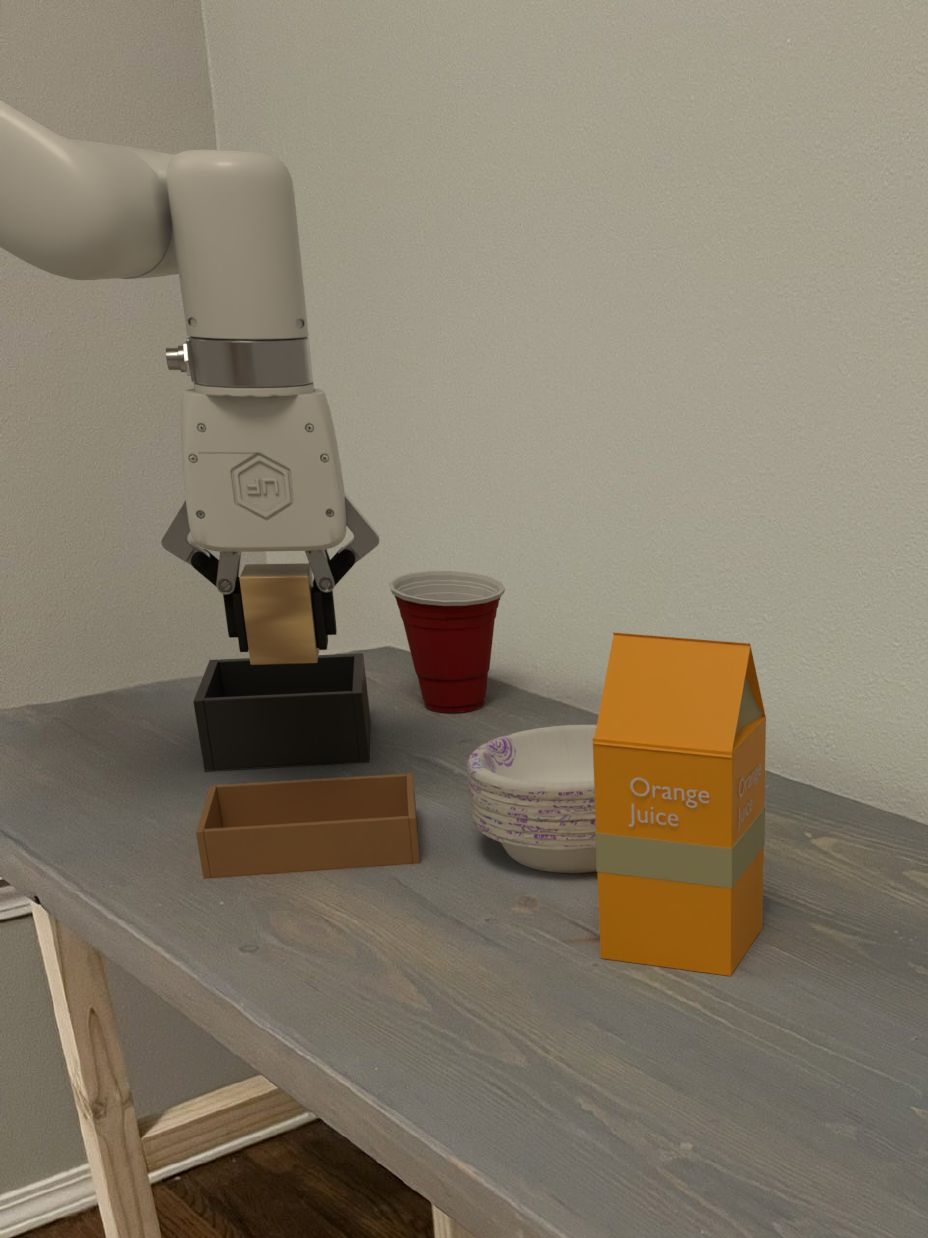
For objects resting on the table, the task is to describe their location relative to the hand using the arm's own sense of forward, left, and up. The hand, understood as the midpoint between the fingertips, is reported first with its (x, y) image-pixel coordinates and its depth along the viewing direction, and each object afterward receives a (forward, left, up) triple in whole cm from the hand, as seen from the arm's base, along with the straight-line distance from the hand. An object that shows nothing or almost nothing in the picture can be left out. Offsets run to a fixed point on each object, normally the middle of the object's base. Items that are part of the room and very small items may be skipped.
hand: (284, 643), depth 104 cm
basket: (-3, +25, -15) cm, 29 cm away
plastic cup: (+12, +36, -15) cm, 41 cm away
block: (0, 0, -1) cm, 1 cm away
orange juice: (+24, -22, -15) cm, 37 cm away
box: (0, -1, -15) cm, 15 cm away
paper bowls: (+19, -5, -15) cm, 25 cm away
